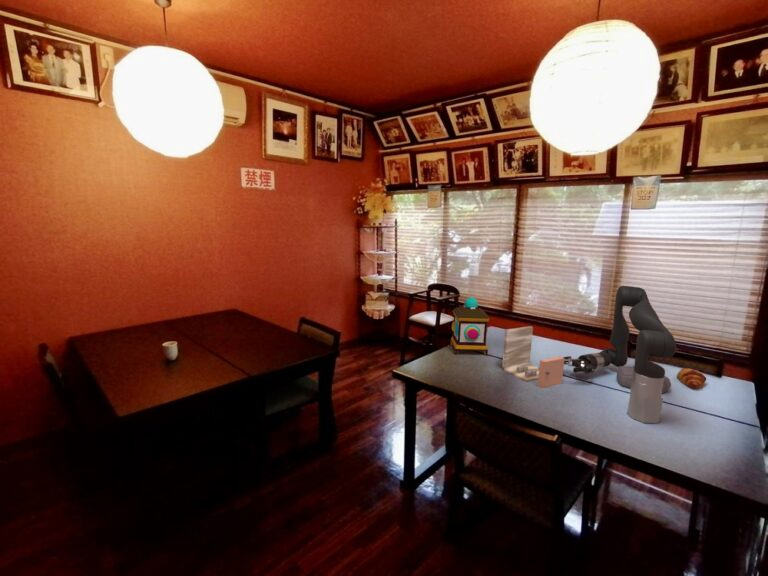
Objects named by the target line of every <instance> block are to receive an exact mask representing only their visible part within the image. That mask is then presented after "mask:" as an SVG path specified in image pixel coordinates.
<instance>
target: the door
mask: <svg viewBox="0 0 768 576" xmlns="http://www.w3.org/2000/svg"><path fill="white" fill-rule="evenodd" d="M563 357H564V356H555V357H550V358H545V359H540V360H539V367H538V368H539V376H538V380H537V387H539V388H541V389H544V388H549V387H552V386H558V385H561V384H563V376H564V367H565V365H564V360H565V358H563Z"/></svg>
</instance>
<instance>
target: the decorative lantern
mask: <svg viewBox="0 0 768 576" xmlns="http://www.w3.org/2000/svg"><path fill="white" fill-rule="evenodd" d="M478 305H479V303H478V300H477V299H476V298H474V297H472V296H471V297H468V298H467V299H466V300H465V301H464V304H462V305H461V306H459V307H455V308H454V309H452V313H453V321H452V322H451V327H450V328H451V331H452V333H453V334H452V336H451V338H450V345H451V346H453V348H454V354H455V355H456V356H458V353H459V351H473V352H474V351H475V352H478V351H479V352H482V351H483V352H484V356H488V353H489V351H488V350H489V349H488V346H487V334H488V333H487V332H488V330H489V329H488V323H489V321H490V319H491V318H490V317H489V315H488V314H487V313H486V312H485V311H484V310H483V309H482V308H480V307H479V306H478Z"/></svg>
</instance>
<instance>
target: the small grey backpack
mask: <svg viewBox="0 0 768 576" xmlns="http://www.w3.org/2000/svg"><path fill="white" fill-rule="evenodd" d="M633 372H634V365H631V366H628V365H627V366H626V365H624V366H619V367H617V370H616V380H617V382H618V385H620V386H622V387H625V388H628V389H631V385H632V378H633ZM671 387H672V383H671V380H670V378H669V377H667V376H666V375H665V376H664V382H663V387H662V393H661V394H664V393H668V391H669V389H671Z"/></svg>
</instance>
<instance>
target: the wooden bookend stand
mask: <svg viewBox="0 0 768 576" xmlns="http://www.w3.org/2000/svg"><path fill="white" fill-rule="evenodd" d="M504 330H505V331H504V341H503V342H504V343H503V353H502V354H503V355H502V367H501V369H502V371H503V370H504V371H505V372H507V373H509V374H510V375H512V376H514V377H516V378H518V379H519V380H521V381H523V382H524V383H525V382H526V383H528V382H532V381H538V376H539V367H537V366H535V365H534V364H531V363H530V361H531V353H532V352H531V350H532V342H533V341H532V340H533V332H534V327H533V326H522V327H515V328H508V329H504Z"/></svg>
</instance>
